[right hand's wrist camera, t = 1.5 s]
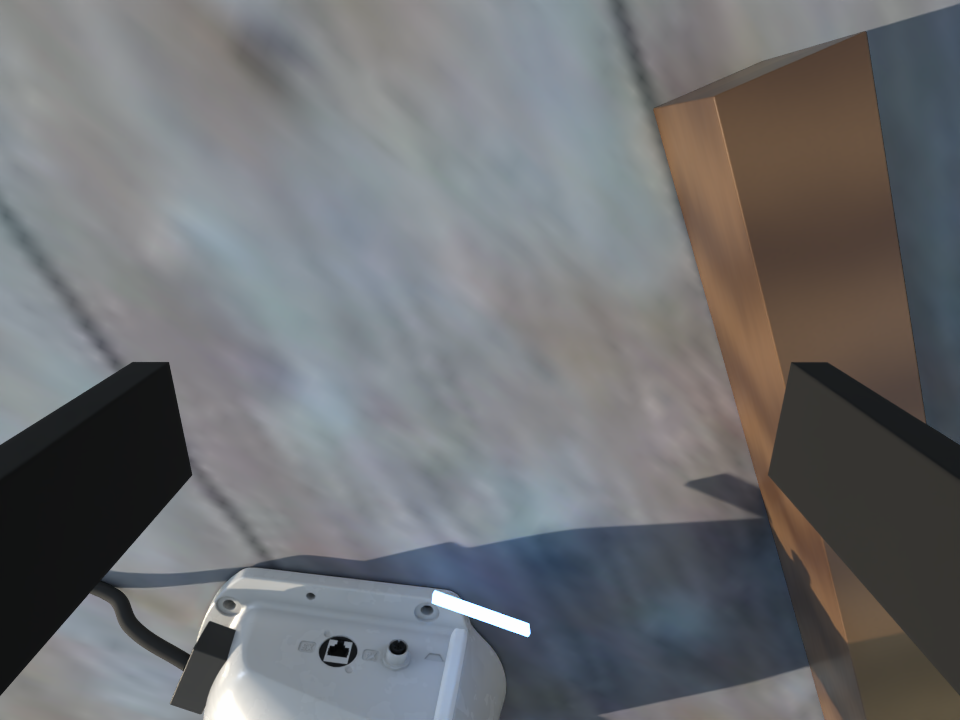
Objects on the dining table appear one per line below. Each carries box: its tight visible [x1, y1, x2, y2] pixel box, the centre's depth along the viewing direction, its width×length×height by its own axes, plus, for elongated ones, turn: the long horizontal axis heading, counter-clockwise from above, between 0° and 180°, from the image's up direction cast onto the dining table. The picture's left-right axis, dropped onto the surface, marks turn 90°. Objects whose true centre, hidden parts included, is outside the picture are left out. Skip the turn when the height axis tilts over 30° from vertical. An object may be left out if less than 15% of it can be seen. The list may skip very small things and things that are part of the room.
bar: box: [654, 31, 960, 720], centre depth 35 cm, size 64×6×8 cm, turn 22°
